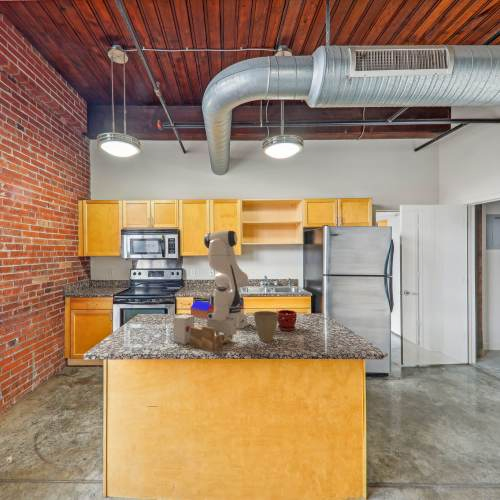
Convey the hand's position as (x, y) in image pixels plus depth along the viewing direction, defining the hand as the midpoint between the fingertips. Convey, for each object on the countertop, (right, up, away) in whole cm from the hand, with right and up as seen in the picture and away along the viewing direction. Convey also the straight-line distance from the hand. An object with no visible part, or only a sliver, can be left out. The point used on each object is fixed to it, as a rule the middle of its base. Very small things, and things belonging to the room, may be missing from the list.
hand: (221, 339), depth 167 cm
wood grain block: (-9, -3, -3) cm, 10 cm away
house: (-22, -3, +74) cm, 78 cm away
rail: (0, -2, 0) cm, 2 cm away
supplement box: (-23, -3, +6) cm, 24 cm away
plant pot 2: (+41, -3, +31) cm, 52 cm away
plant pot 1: (+26, -3, +8) cm, 27 cm away
